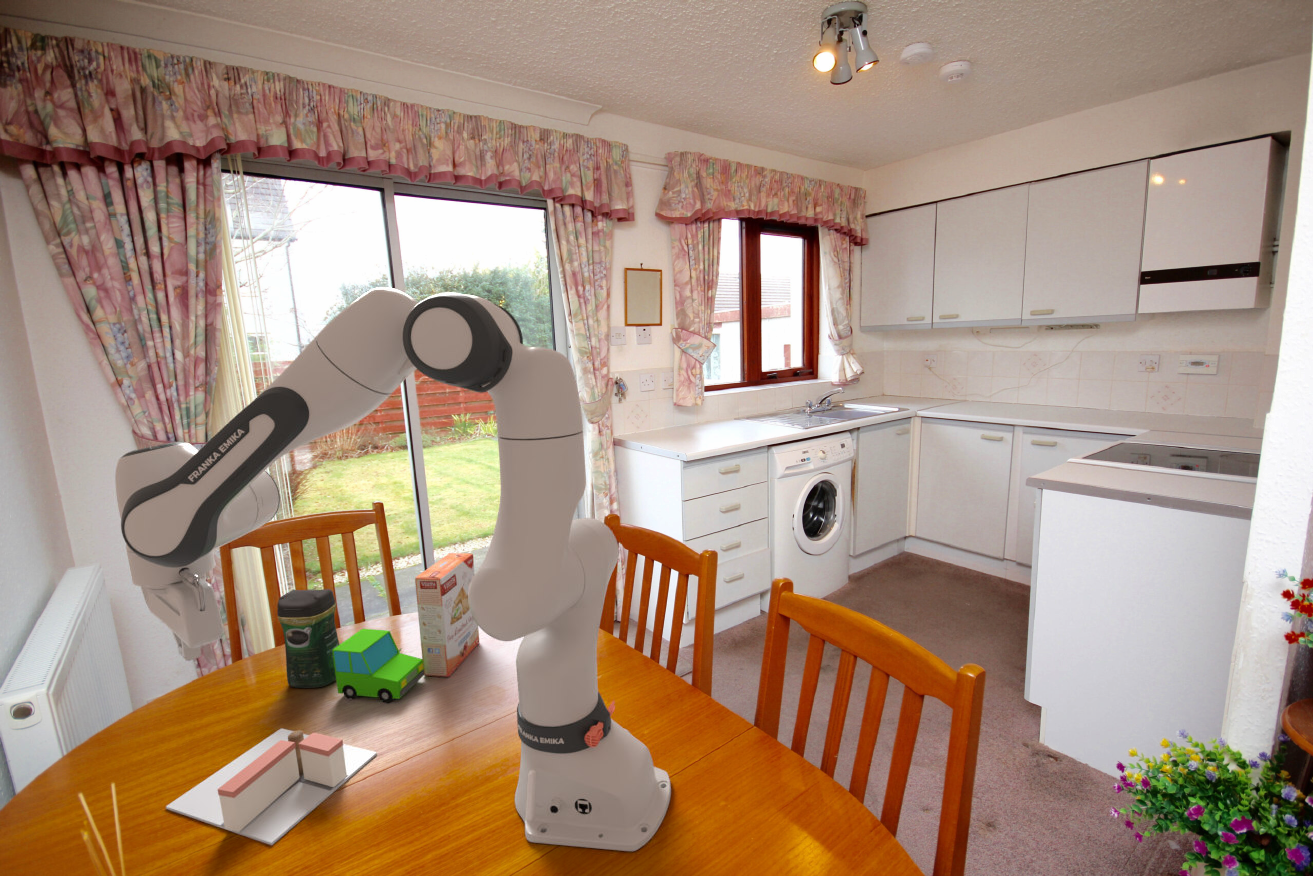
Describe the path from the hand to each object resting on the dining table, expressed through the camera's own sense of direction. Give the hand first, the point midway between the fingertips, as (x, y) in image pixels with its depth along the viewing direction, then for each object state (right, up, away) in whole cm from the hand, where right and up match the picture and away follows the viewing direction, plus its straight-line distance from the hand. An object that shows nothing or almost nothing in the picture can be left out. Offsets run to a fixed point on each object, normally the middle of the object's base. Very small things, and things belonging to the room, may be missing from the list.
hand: (190, 656), depth 81 cm
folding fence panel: (+9, -22, +3) cm, 24 cm away
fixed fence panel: (+15, -22, +7) cm, 27 cm away
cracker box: (+22, -16, +41) cm, 50 cm away
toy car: (+12, -18, +31) cm, 38 cm away
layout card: (+7, -22, +8) cm, 24 cm away
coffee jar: (-3, -18, +35) cm, 40 cm away
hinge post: (+10, -22, +9) cm, 25 cm away
